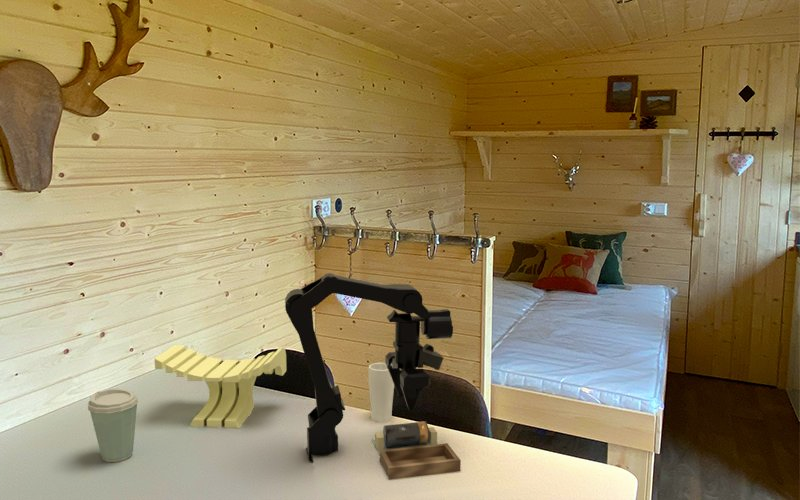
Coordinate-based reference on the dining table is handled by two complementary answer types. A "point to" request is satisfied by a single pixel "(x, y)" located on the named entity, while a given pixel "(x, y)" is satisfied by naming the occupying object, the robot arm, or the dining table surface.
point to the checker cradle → (381, 446)
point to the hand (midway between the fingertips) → (406, 403)
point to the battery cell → (406, 434)
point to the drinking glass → (380, 392)
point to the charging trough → (419, 461)
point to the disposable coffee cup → (114, 422)
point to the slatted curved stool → (222, 382)
